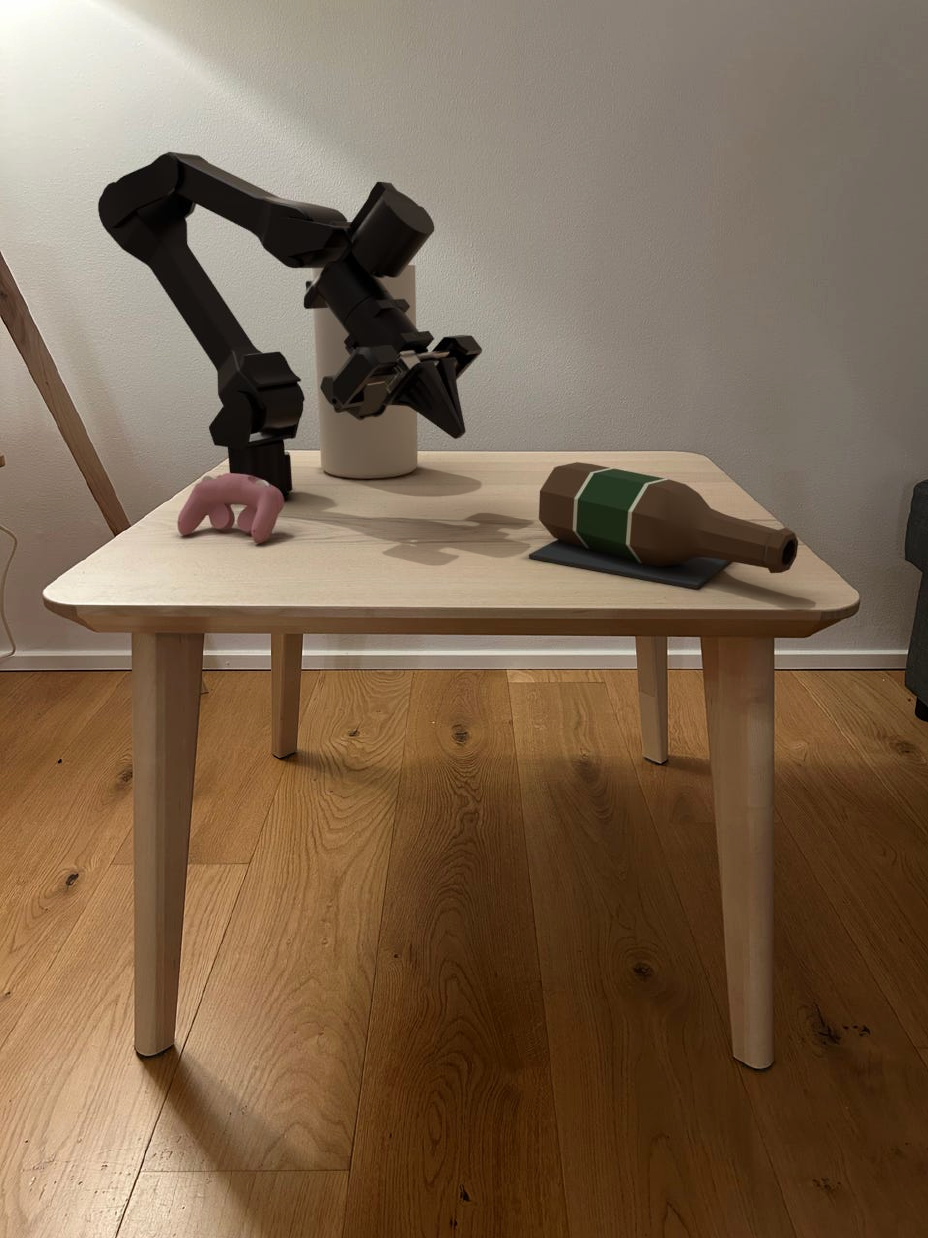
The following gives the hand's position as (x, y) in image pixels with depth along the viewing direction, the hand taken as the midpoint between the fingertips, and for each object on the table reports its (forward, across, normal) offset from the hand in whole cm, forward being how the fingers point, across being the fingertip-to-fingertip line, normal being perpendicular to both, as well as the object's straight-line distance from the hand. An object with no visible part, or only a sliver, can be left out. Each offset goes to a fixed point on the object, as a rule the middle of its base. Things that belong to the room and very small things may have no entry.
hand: (460, 435), depth 92 cm
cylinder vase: (-11, -18, -25) cm, 33 cm away
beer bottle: (+11, -3, +3) cm, 12 cm away
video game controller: (-6, +14, -20) cm, 25 cm away
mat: (+20, -2, +6) cm, 21 cm away
